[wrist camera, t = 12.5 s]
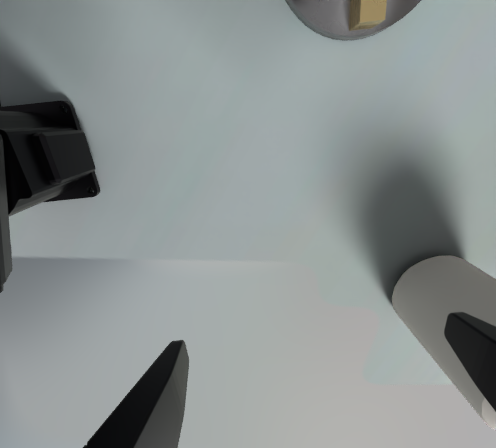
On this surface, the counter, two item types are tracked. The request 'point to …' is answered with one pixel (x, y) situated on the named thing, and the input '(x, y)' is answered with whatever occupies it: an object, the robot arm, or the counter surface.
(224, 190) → the counter surface
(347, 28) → the metal flange
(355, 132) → the counter surface
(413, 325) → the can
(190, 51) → the counter surface
